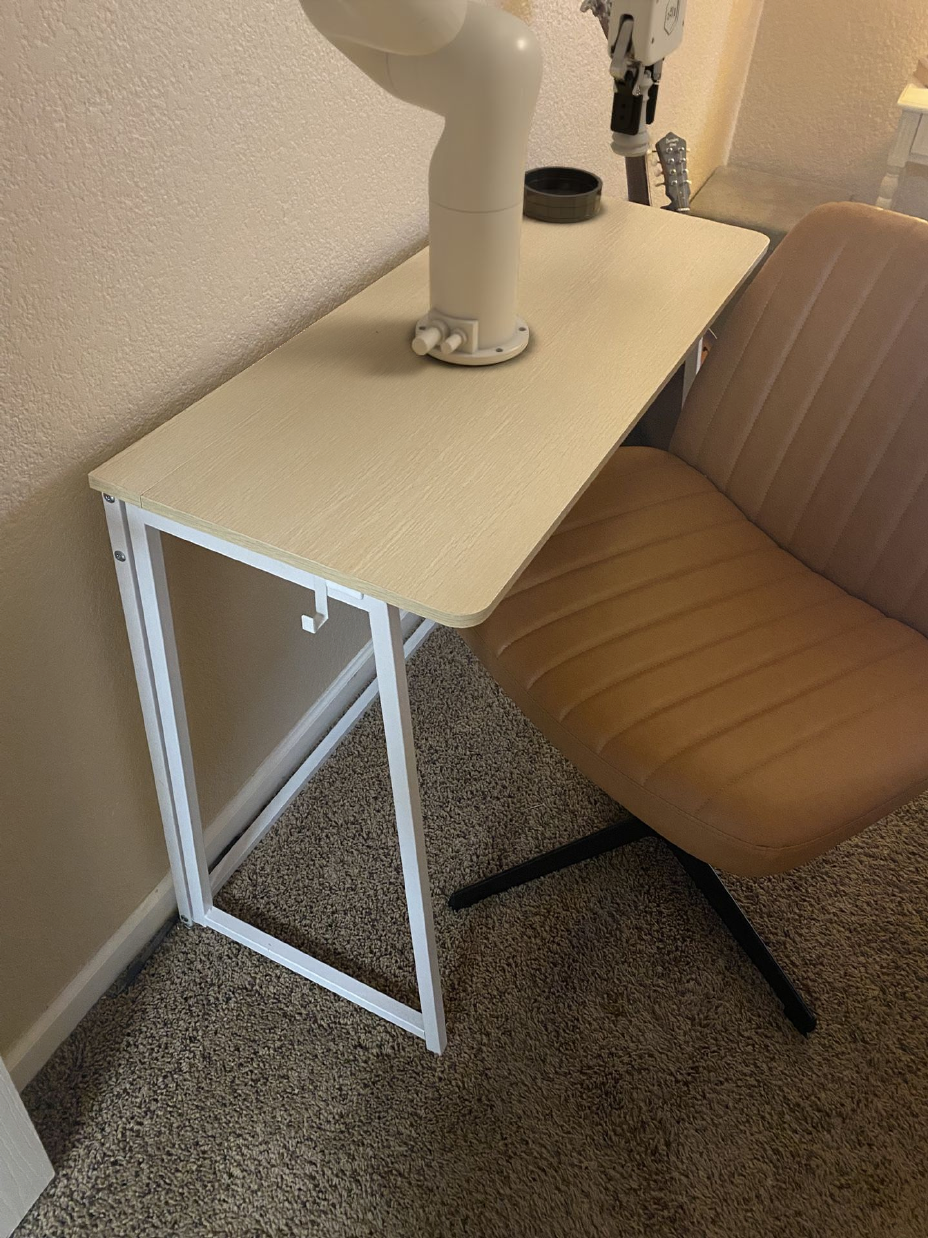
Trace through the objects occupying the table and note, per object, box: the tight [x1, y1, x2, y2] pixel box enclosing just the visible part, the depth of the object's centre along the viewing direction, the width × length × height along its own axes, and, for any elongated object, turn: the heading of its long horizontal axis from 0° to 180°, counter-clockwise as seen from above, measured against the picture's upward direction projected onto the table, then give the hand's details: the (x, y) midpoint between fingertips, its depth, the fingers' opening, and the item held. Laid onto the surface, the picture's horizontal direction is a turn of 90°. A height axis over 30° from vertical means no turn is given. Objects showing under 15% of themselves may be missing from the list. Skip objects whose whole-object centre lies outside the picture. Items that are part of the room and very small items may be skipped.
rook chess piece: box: [609, 68, 653, 158], centre depth 104 cm, size 4×4×8 cm
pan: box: [523, 165, 604, 224], centre depth 131 cm, size 12×12×4 cm
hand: (632, 125), depth 105 cm, fingers closed on rook chess piece, 3 cm apart
